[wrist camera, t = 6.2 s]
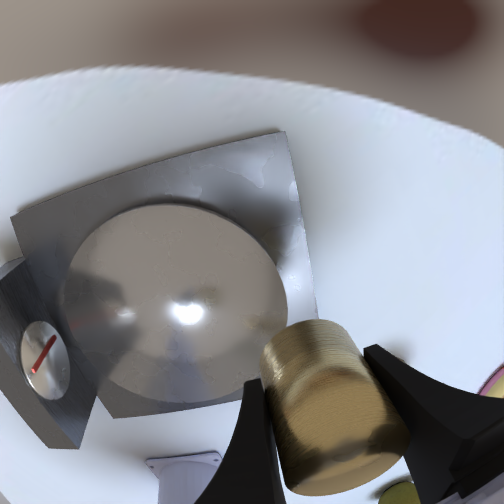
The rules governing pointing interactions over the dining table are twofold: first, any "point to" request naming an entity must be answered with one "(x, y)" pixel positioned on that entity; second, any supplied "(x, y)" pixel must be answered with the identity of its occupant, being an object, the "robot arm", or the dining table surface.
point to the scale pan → (174, 302)
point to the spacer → (328, 410)
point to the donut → (495, 385)
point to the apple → (400, 494)
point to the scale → (86, 222)
